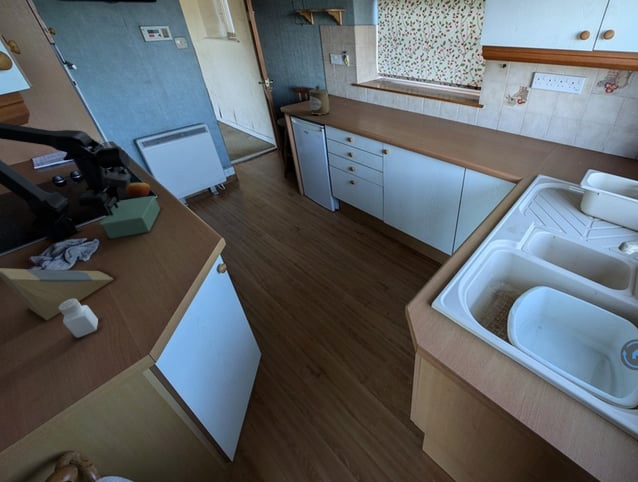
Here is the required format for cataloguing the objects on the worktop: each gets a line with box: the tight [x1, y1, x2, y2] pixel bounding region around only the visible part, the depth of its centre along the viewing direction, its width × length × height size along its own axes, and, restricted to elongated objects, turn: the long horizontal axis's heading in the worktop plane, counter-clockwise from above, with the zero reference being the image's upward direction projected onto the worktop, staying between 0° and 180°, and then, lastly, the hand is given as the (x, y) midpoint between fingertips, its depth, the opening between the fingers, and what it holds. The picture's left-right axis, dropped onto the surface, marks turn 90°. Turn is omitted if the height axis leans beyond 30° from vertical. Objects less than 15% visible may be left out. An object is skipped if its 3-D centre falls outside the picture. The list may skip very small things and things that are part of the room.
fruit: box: [125, 182, 151, 199], centre depth 124 cm, size 8×8×8 cm
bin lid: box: [99, 195, 156, 226], centre depth 106 cm, size 12×16×5 cm
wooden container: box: [308, 85, 330, 113], centre depth 236 cm, size 15×15×22 cm
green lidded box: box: [101, 197, 161, 239], centre depth 109 cm, size 12×16×6 cm
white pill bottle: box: [58, 299, 99, 339], centre depth 70 cm, size 4×4×10 cm
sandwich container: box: [0, 267, 114, 321], centre depth 78 cm, size 9×15×15 cm, turn 156°
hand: (113, 208), depth 105 cm, fingers open, 9 cm apart
